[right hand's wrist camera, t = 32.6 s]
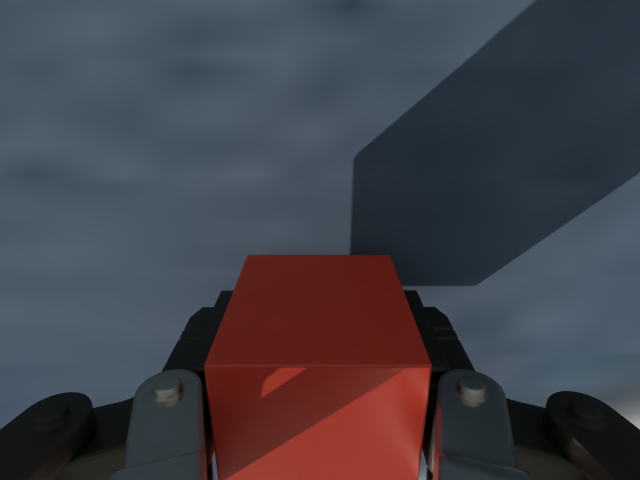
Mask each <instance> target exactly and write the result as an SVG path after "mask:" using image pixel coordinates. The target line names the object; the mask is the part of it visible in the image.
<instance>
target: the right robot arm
mask: <svg viewBox="0 0 640 480" xmlns="http://www.w3.org/2000/svg"><path fill="white" fill-rule="evenodd" d="M403 291H404V293H405V296H406V299H407V301H408V304H409V307H410V309H411V312H412V314H413V317H414V320H415V322H416V325H417V328H418V330H419V333H420V335H421V338H422V341H423V343H424V346H425V349H426V351H427V354H428V356H429V359H430V362H431V364H432V372H431V380H430V388H429V396H428V404H427V412H426V420H425V428H424V436H423V444H422V449H423V452H424V456H425V460H426V463H427V472H426V480H640V429H638V428H637V427H636V426H634V425H633V424H632V423H630V422H629V421H628V420H627V419H625V418H624V417H623V416H621V415H620V414H619V413H617V412H616V411H615V410H614V409H612V408H611V407H610V406H608V405H607V404H605V403H603V402H602V401H600V400H598V399H596V398H594V397H591V396H589V395H586V394H582V393H578V392H572V391H561V392H557V393H554V394H552V395H551V396H550V397H549V398H548V400H547V403H546V407H545V408H543V407H539V406H534V405H530V404H526V403H521V402H517V401H514V400H510V399H508V398H506V396H505V393H504V391H503V389H502V388H501V387H500V385H499V384H498V383H497V382H495V381H494V380H493V379H491V378H490V377H488V376H486V375H484V374H482V373H479V372H476V371H475V370H474V368H473V366H472V364H471V362H470V360H469V358H468V356H467V354H466V352H465V350H464V348H463V346H462V345H461V343H460V341H459V340H458V337H457V335H456V333H455V331H453V327H452V325H451V323H450V321H449V319H448V318H447V316H445V315H444V314H443V313H442V312H440V311H439V310H438V309H437V308H435V307H423V304H422V302H421V300H420V297H419V295H418V293H417V291H416V290H403ZM232 294H233V291H221V293H220V295H219V297H218V300H217V302H216V304H215V306H214V307H203V308H201V309H200V310H199V311H198V312H196V313H195V314H194V315H193V316H191V317H190V319H189V321H188V323H187V325H186V327H185V330H184V331H183V332H182V334H181V336H180V340H179V341H178V342H177V344H176V346H175V348H174V349H173V351H172V353H171V355H170V357H169V359H168V361H167V363H166V365H165V367H164V368H163V370H162V372H161V373H158V374H156V375H154V376H152V377H150V378H149V379H147V380H146V381H145V382H143V383H142V384H141V385H140V387H139V388H138V389H137V391H136V393H135V396H134V397H133V398H131V399H128V400H125V401H122V402H118V403H113V404H109V405H105V406H100V407H96V408H93V406H92V403H91V400H90V399H89V397H87V396H86V395H84V394H81V393H76V392H69V393H61V394H57V395H53V396H50V397H48V398H45V399H43V400H41V401H39V402H37V403H35V404H34V405H32V406H31V407H29V408H28V409H26V410H25V411H24V412H23V413H21V414H20V415H19V416H17V417H16V418H15V419H13V420H12V421H11V422H10V423H8V424H7V425H6V426H4V427H3V428H2V429H0V480H214V472H213V465H212V457H213V453H214V450H215V449H214V441H213V433H212V426H211V418H210V410H209V402H208V395H207V387H206V379H205V371H204V364H205V362H206V359H207V357H208V354H209V352H210V349H211V347H212V344H213V342H214V339H215V337H216V334H217V332H218V329H219V326H220V324H221V321H222V319H223V316H224V314H225V311H226V309H227V306H228V304H229V301H230V299H231V296H232Z"/></svg>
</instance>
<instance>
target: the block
mask: <svg viewBox="0 0 640 480" xmlns="http://www.w3.org/2000/svg"><path fill="white" fill-rule="evenodd" d="M204 371H205V379H206V387H207V395H208V402H209V410H210V418H211V426H212V433H213V441H214V449H215V457H216V464H217V472H218V480H418V476H419V468H420V460H421V452H422V444H423V436H424V428H425V420H426V412H427V404H428V396H429V388H430V380H431V372H432V364H431V362H430V359H429V356H428V354H427V351H426V349H425V346H424V343H423V341H422V338H421V335H420V333H419V330H418V328H417V325H416V322H415V320H414V317H413V314H412V312H411V309H410V307H409V304H408V301H407V299H406V296H405V293H404V291H403V288H402V286H401V283H400V280H399V278H398V275H397V272H396V270H395V267H394V265H393V262H392V259H391V257H390V255H248V256H247V259H246V261H245V264H244V266H243V269H242V271H241V274H240V276H239V279H238V281H237V284H236V286H235V289H234V291H233V294H232V296H231V299H230V301H229V304H228V306H227V309H226V311H225V314H224V316H223V319H222V321H221V324H220V326H219V329H218V332H217V334H216V337H215V339H214V342H213V344H212V347H211V349H210V352H209V354H208V357H207V359H206V362H205V364H204Z"/></svg>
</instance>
